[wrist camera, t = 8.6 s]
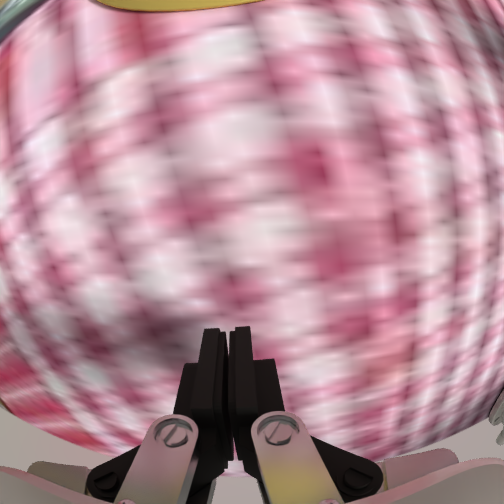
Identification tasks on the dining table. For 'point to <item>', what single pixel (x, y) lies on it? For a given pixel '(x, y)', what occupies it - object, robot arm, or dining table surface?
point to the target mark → (172, 4)
